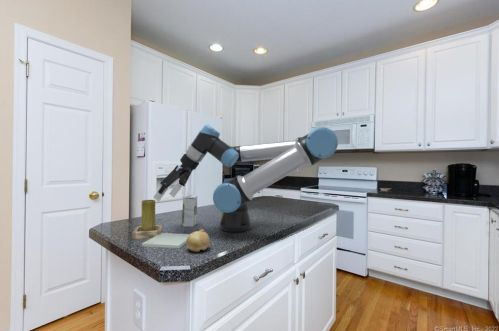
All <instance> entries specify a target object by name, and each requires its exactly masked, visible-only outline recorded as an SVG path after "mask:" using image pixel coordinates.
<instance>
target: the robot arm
mask: <svg viewBox="0 0 499 331" xmlns="http://www.w3.org/2000/svg"><path fill="white" fill-rule="evenodd" d="M220 135H221V134H220V131H218V130H217V129H215V128H214V127H212V126H211V125H210V124H205V125H204V126H203V127H202V128H201V130H199V132H198V133H197V135H196V137H195V138H194V140H193V141H192V142H191V144H190V145H188V146H187V150H186V151H185V153H183V155H182V156H181V157H180V159H179V160H180V163H181V165H178V164H177V165H175V167H174V169H172V171H170V173H168V175H166V177H165V178H164V179H163V180H162V181H161V182H160V183H159V184H160V185H161V186H160V187H159V188H158V190H157V191H156V193H155V194H154V195H153V200H155V201H157V202H160V200H161V199H162V198H163V196H164V195H165V194H166V193H167V191H168V190H169V187H170V186H171V185H172V184H174V183H175V182H176V181H177V180H178V182H176V183H175V185H174V187H173V188H172V189H171V190H170V192H169V195H170V196H171V197H172V198H175V197H176V196H177V195H178V193H179V191H180V190H181V189H182V187H185V186H186V184H187V182H188V180H189V178H190V177H191V175H192V172H193V171H195V170H197V167H199V165H200V163H201V162H202V160H203V159H205V157H206V156H207V154H209V155H211V156H213V158H215V159H217V160H218V162H220V163H221V164H222V165H224V166H226V167H227V168H231V167H232V166H234V164H235V163H243V162H251V161H252V162H253V161H255V162H256V161H264V160H269V161H267V162H266V163H264V164H262V165H260V166H259V167H257V168H256V169H255V168H254V170H252V171H250V172H249V173H246V174H245V175H243V176H242V175H236V176H235V177H232V178H231V177H230V178H224V180H223V182H222V183H220V184H219V185H217V187H216V188H215V189H214V191H213V194H212V201H213V204H214V206H215V207H216V208H217V209H218V211H220V212H222V215H221V218H220V221H219V225H218V226H219V227H218V228H219V229H220V230H221V231H223V232H229V233H230V232H231V233H238V232H239V233H240V232H247V231H250V230H252V227H253V226H252V221H251V220H252V219H251V218H250V214H249V202H251V201H252V200H253V199H254V195H256V194H257V193H259V192H261V191H263V190H264V189H266V188H268V187H269V186H271V185H274V183H276V182H278V181H280V180H282V179H283V178H285V177H287V176H289V175H290V174H292V173H294V172H296V171H297V170H299V169H301V168H303V167H305V166H309V167H312V166H313V165H315V164H317V163H319V162H321V161H322V160H324V159H328V158H329V157H332V156H333V154H334V153H335V152H336V151H337V149H338V145H339V144H338V143H339V140H338V139H339V138H338V136H337V134H336V133H335V132H334V131H333V130H332V129H330V128H328V127H325V126H321V127H315V128H314V129H313V128H312V130H311V131H310V132H309V133H307V134H305V135H303V136H299V137H296V138H295V139H294V140H284V141H274V142H265V143H256V144H255V143H254V144H247V145H236V146H231V145H229V144H227V143H226V142H225V141H223V140H222V139H221V138H220Z"/></svg>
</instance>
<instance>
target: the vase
mask: <svg viewBox="0 0 499 331" xmlns="http://www.w3.org/2000/svg"><path fill="white" fill-rule="evenodd" d="M140 226H141V231H156V199H145V200H141V219H140Z"/></svg>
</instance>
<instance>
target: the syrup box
mask: <svg viewBox="0 0 499 331" xmlns="http://www.w3.org/2000/svg"><path fill="white" fill-rule="evenodd" d="M181 219H182V220H181V222H182V223H181V226H182V227H183V228H184V227H187V228H188V227H191V228H192V227H193V228H194V227H195V226H196V225H197V224H198V223H197V222H198V220H197V219H198V195H194V194H187V195H184V196H183V197H182V218H181Z"/></svg>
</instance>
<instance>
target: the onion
mask: <svg viewBox="0 0 499 331" xmlns="http://www.w3.org/2000/svg"><path fill="white" fill-rule="evenodd" d="M189 234H190V235H189V236H188V238H187V241H186V243H185V244H186V246H187V249H188V250H189V251H191V252H195V253H199V252H201V251H205V250H207V248H208V247H209V246H210V243H211V238H210V236H209V234H208V233H207V232H206V231H205V229H202V228H201V227H200V228H199V230H197V231H196V230H195V231H192V233H189Z"/></svg>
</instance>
